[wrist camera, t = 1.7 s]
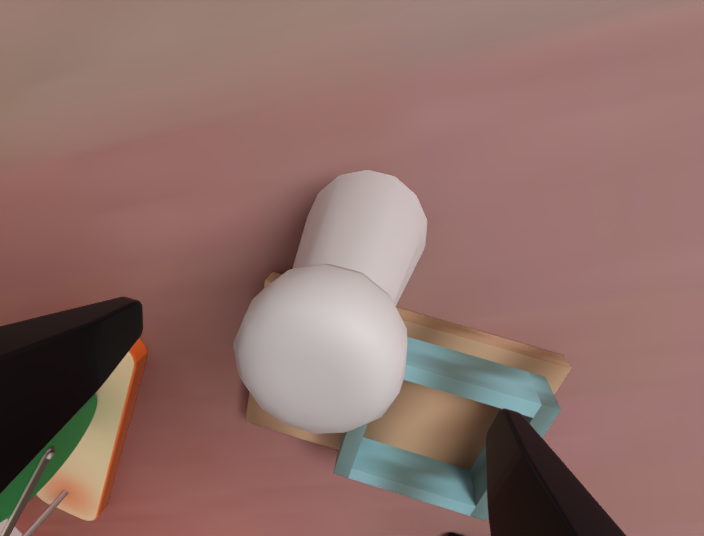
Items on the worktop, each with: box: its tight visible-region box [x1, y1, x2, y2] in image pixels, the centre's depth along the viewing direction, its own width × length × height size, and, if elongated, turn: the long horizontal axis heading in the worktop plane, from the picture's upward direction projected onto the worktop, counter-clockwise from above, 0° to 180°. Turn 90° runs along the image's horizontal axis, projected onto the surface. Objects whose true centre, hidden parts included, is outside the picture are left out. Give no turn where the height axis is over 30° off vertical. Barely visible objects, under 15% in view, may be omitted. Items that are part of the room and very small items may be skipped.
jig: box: [245, 272, 571, 520], centre depth 23 cm, size 18×12×4 cm, turn 77°
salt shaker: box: [233, 170, 427, 434], centre depth 14 cm, size 6×6×13 cm
